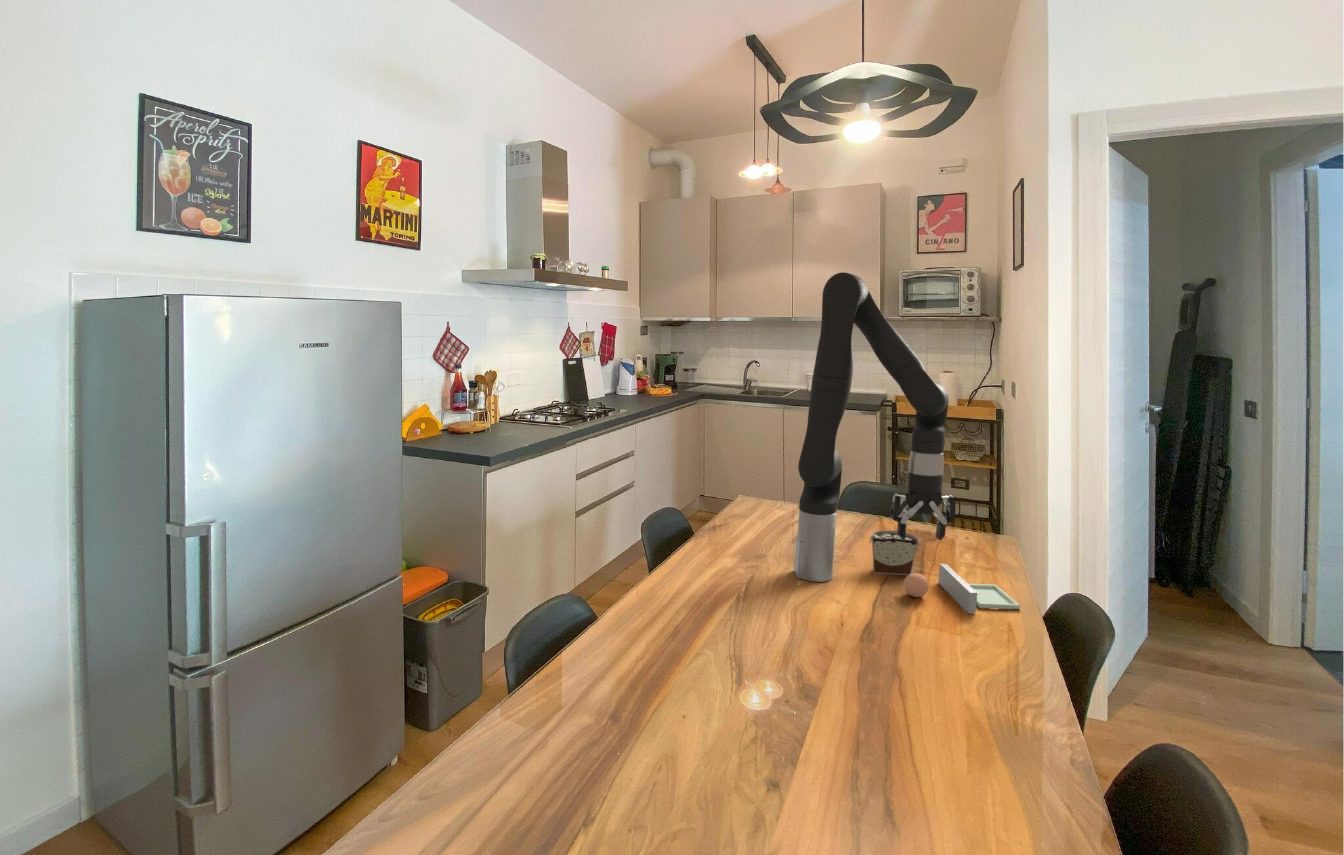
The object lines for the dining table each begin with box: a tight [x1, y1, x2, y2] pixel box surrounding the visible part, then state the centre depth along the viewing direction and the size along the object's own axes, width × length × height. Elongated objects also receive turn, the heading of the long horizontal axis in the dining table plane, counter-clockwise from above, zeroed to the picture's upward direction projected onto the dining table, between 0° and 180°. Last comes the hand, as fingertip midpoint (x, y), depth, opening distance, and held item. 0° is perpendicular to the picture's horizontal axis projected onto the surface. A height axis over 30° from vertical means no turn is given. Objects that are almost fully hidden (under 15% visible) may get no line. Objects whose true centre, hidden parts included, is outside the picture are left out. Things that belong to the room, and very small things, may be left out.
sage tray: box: [967, 583, 1021, 610], centre depth 155 cm, size 9×12×1 cm
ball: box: [903, 573, 930, 598], centre depth 155 cm, size 6×6×6 cm
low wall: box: [937, 563, 977, 614], centre depth 155 cm, size 2×18×5 cm, turn 179°
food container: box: [869, 529, 920, 576], centre depth 171 cm, size 12×6×10 cm, turn 84°
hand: (920, 538), depth 153 cm, fingers open, 8 cm apart
